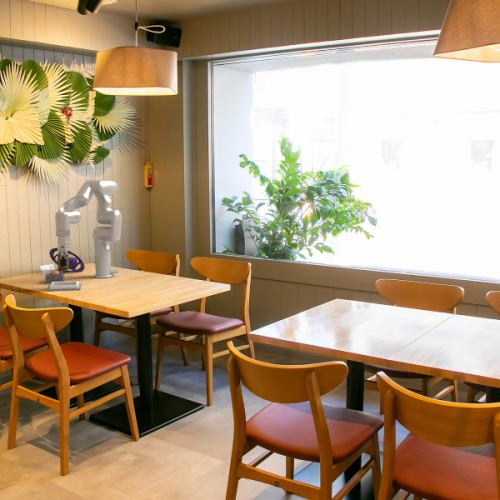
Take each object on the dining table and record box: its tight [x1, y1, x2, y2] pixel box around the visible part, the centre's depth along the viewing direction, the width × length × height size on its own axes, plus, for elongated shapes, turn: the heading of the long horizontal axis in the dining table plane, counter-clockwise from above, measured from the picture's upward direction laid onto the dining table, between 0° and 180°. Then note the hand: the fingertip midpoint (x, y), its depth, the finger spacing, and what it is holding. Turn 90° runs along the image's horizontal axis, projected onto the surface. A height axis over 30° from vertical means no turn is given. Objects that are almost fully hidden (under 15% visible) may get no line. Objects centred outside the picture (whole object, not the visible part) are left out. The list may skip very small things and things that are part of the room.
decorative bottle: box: [48, 236, 85, 273], centre depth 407 cm, size 22×21×25 cm
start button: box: [49, 270, 60, 275], centre depth 371 cm, size 5×5×3 cm
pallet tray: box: [46, 280, 83, 292], centre depth 355 cm, size 18×16×2 cm
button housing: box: [44, 271, 65, 285], centre depth 371 cm, size 10×10×5 cm
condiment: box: [54, 250, 71, 272], centre depth 352 cm, size 7×8×12 cm
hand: (63, 264), depth 353 cm, fingers closed on condiment, 6 cm apart
